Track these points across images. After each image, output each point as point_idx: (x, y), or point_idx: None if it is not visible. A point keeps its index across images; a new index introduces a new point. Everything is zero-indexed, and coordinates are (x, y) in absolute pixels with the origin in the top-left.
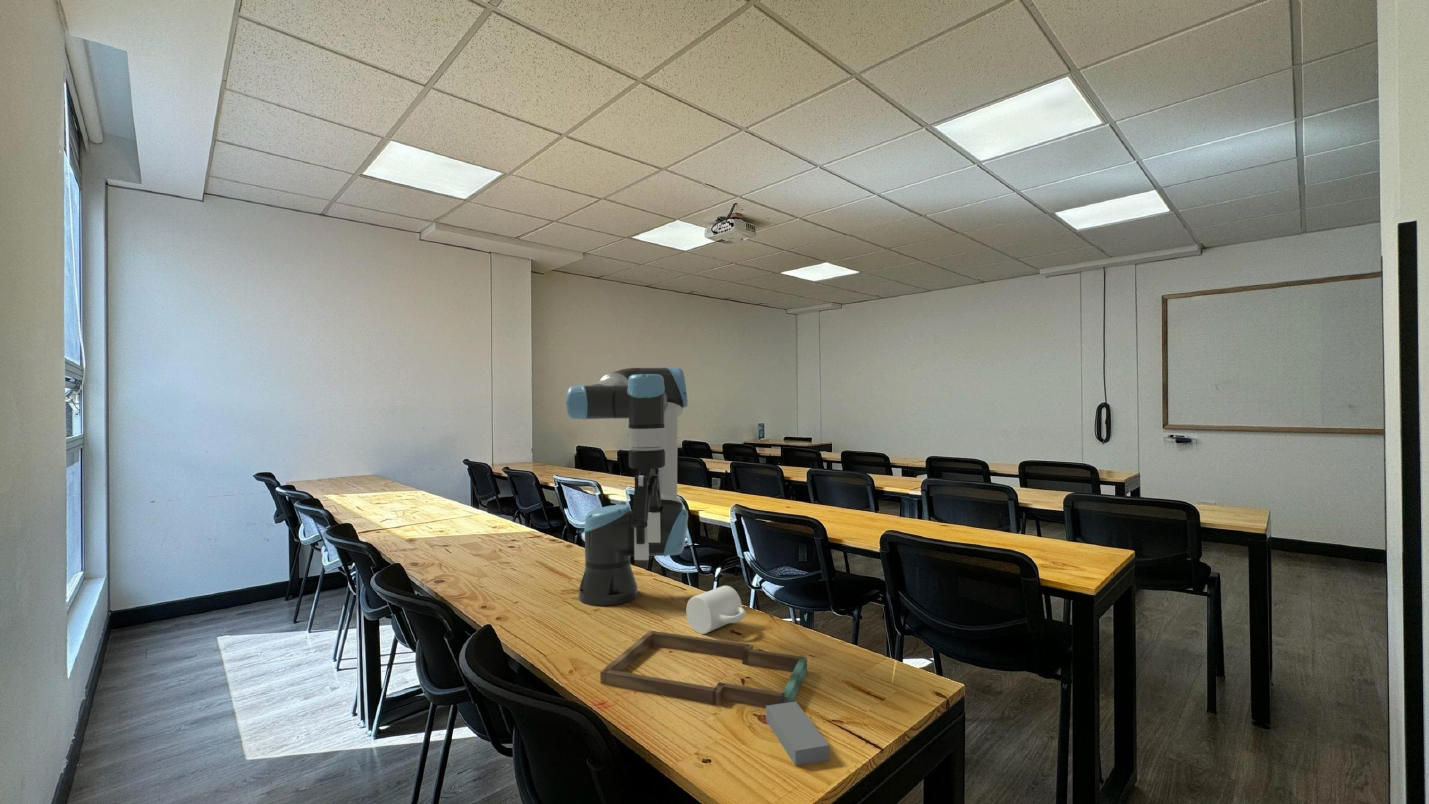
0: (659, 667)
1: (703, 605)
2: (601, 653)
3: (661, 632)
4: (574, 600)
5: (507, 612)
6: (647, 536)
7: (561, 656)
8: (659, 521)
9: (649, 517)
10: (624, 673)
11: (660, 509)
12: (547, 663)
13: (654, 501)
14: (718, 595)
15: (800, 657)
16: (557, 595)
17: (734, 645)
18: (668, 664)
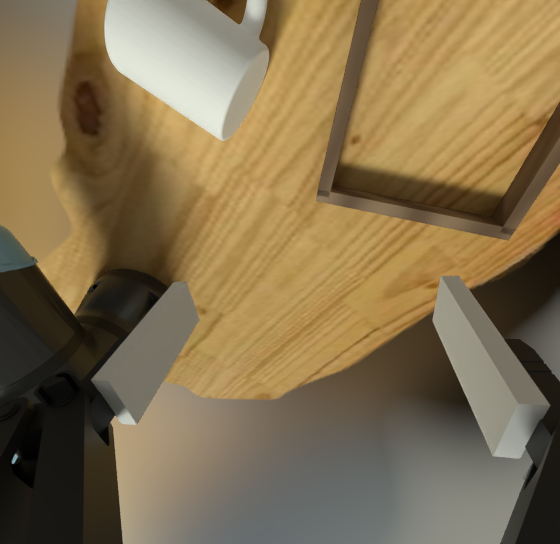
0: (431, 144)
1: (246, 78)
2: (367, 261)
3: (323, 174)
4: None
5: (244, 398)
6: (514, 354)
7: (378, 310)
8: (138, 343)
9: (145, 395)
10: (529, 195)
11: (70, 391)
12: (402, 320)
13: (95, 483)
14: (187, 33)
15: None
16: None
17: None
18: (418, 128)
